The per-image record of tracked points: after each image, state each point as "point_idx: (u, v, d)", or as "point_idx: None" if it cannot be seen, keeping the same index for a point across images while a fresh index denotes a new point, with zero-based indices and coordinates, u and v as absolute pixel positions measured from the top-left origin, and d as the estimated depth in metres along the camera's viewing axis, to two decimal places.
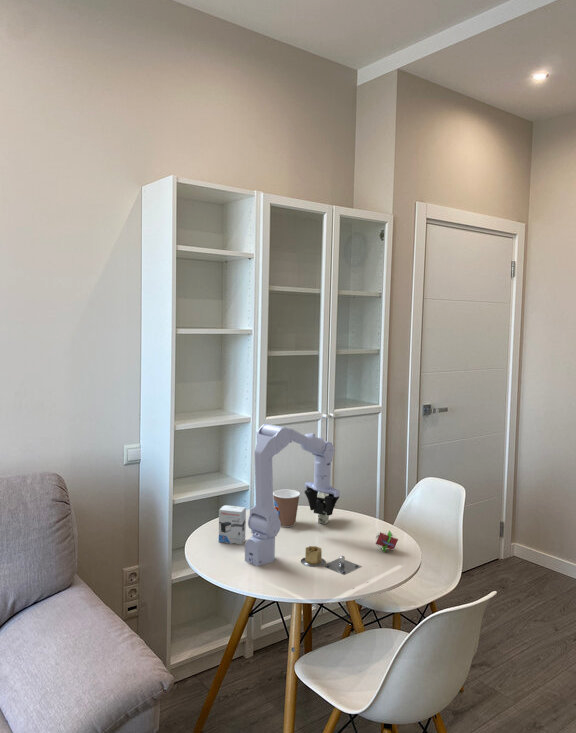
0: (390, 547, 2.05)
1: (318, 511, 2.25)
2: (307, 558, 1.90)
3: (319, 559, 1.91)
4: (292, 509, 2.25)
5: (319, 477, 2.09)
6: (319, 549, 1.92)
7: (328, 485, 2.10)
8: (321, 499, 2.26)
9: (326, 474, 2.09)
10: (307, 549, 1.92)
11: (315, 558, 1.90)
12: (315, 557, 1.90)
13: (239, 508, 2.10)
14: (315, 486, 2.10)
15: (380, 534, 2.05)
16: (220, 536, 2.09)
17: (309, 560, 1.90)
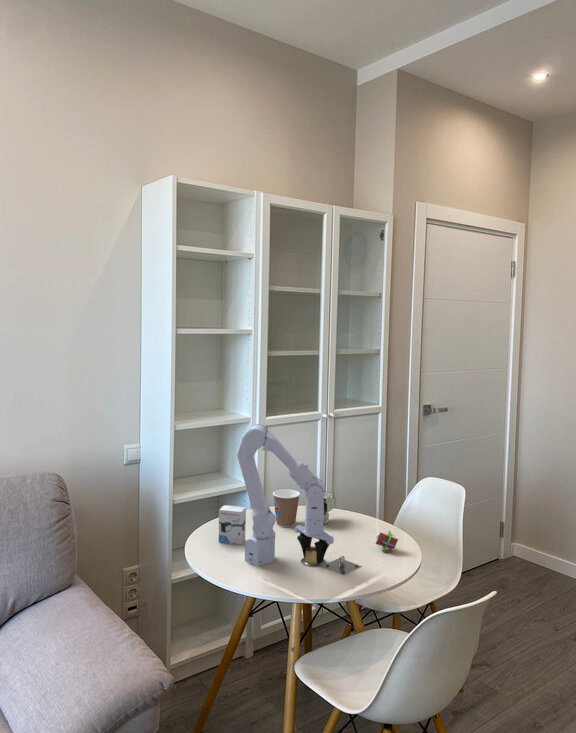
0: (390, 547, 2.05)
1: None
2: (307, 558, 1.90)
3: None
4: (292, 509, 2.25)
5: (311, 522, 1.88)
6: None
7: (321, 530, 1.90)
8: None
9: (311, 518, 1.88)
10: (307, 549, 1.92)
11: (315, 558, 1.90)
12: (315, 557, 1.90)
13: (239, 508, 2.10)
14: (306, 531, 1.90)
15: (380, 534, 2.05)
16: (220, 536, 2.09)
17: (309, 560, 1.90)
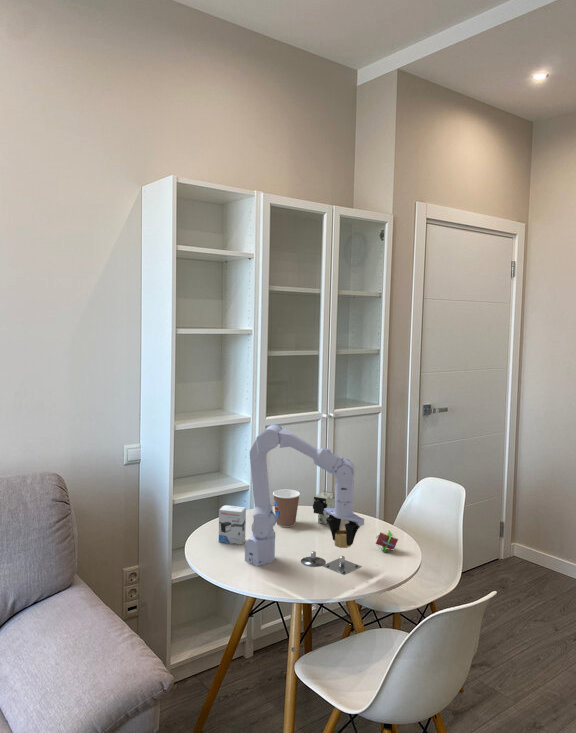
0: (390, 547, 2.05)
1: (318, 511, 2.25)
2: (337, 541, 1.87)
3: None
4: (292, 509, 2.25)
5: (341, 503, 1.85)
6: None
7: (351, 512, 1.86)
8: (321, 499, 2.26)
9: (340, 499, 1.85)
10: (337, 532, 1.88)
11: (345, 541, 1.86)
12: (345, 540, 1.86)
13: (239, 508, 2.10)
14: (336, 513, 1.86)
15: (380, 534, 2.05)
16: (220, 536, 2.09)
17: (339, 543, 1.86)
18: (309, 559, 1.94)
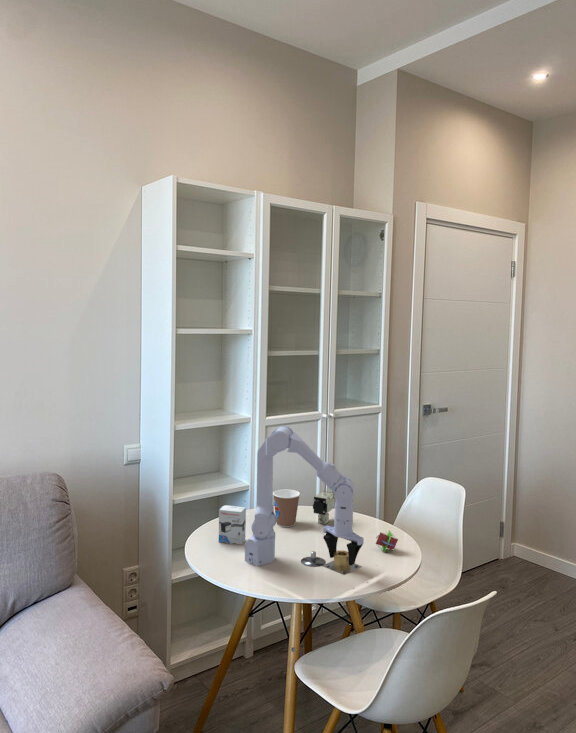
0: (390, 547, 2.05)
1: (318, 511, 2.25)
2: (336, 562, 1.88)
3: (348, 564, 1.88)
4: (292, 509, 2.25)
5: (340, 522, 1.85)
6: None
7: (350, 531, 1.86)
8: (321, 499, 2.26)
9: (340, 518, 1.85)
10: (336, 553, 1.89)
11: (344, 562, 1.87)
12: (344, 562, 1.87)
13: (239, 508, 2.10)
14: (336, 532, 1.87)
15: (380, 534, 2.05)
16: (220, 536, 2.09)
17: (338, 565, 1.87)
18: (309, 559, 1.94)
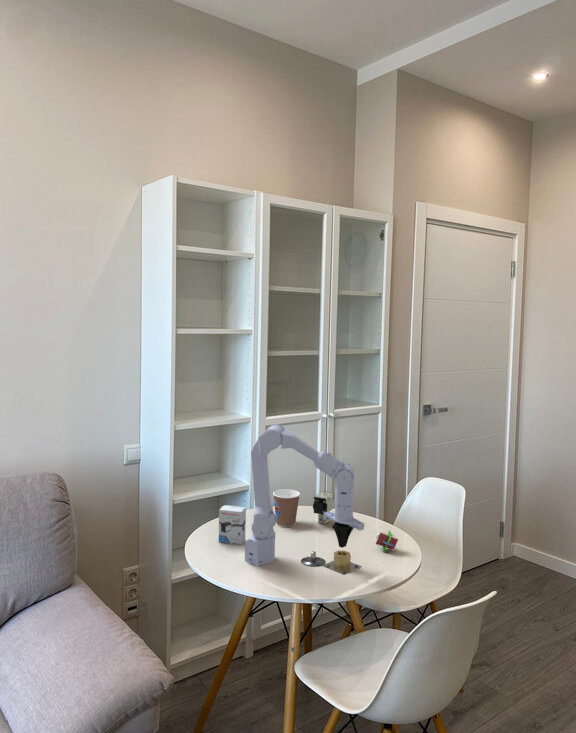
0: (390, 547, 2.05)
1: (318, 511, 2.25)
2: (336, 562, 1.88)
3: (348, 564, 1.88)
4: (292, 509, 2.25)
5: (341, 507, 1.85)
6: (348, 553, 1.89)
7: (351, 516, 1.86)
8: (321, 499, 2.26)
9: (340, 504, 1.85)
10: (336, 553, 1.89)
11: (344, 562, 1.87)
12: (344, 562, 1.87)
13: (239, 508, 2.10)
14: (336, 517, 1.86)
15: (380, 534, 2.05)
16: (220, 536, 2.09)
17: (338, 565, 1.87)
18: (309, 559, 1.94)
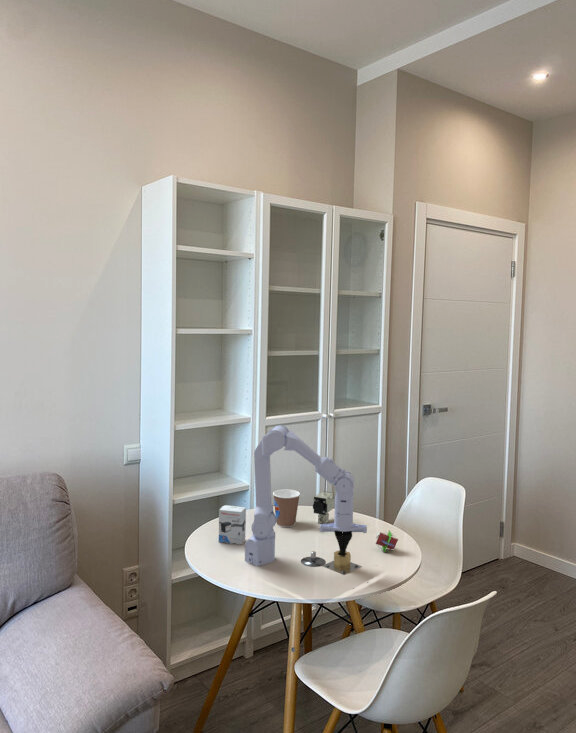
0: (390, 547, 2.05)
1: (318, 511, 2.25)
2: (336, 562, 1.88)
3: (348, 564, 1.88)
4: (292, 509, 2.25)
5: (347, 516, 1.85)
6: (348, 553, 1.89)
7: None
8: (321, 499, 2.26)
9: (340, 512, 1.85)
10: (336, 553, 1.89)
11: (344, 562, 1.87)
12: (344, 562, 1.87)
13: (239, 508, 2.10)
14: (342, 527, 1.85)
15: (380, 534, 2.05)
16: (220, 536, 2.09)
17: (338, 565, 1.87)
18: (309, 559, 1.94)
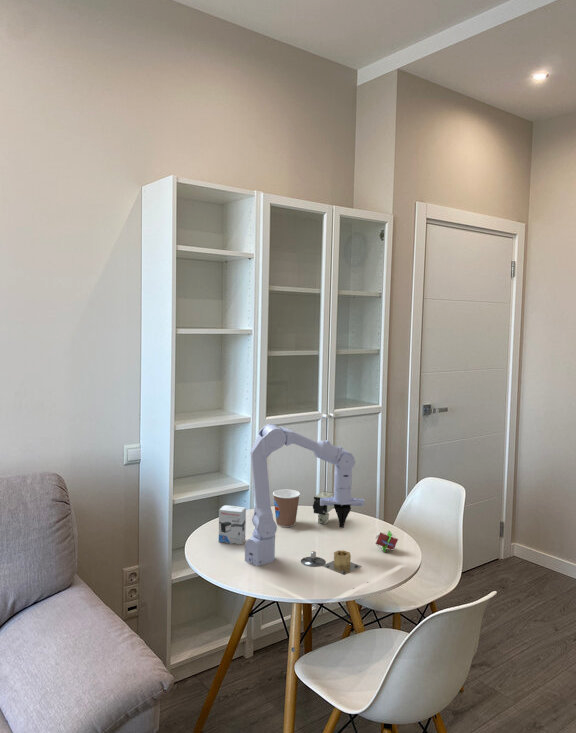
0: (390, 547, 2.05)
1: (318, 511, 2.25)
2: (336, 562, 1.88)
3: (348, 564, 1.88)
4: (292, 509, 2.25)
5: (346, 489, 1.95)
6: (348, 553, 1.89)
7: None
8: None
9: (342, 486, 1.95)
10: (336, 553, 1.89)
11: (344, 562, 1.87)
12: (344, 562, 1.87)
13: (239, 508, 2.10)
14: (341, 500, 1.96)
15: (380, 534, 2.05)
16: (220, 536, 2.09)
17: (338, 565, 1.87)
18: (309, 559, 1.94)
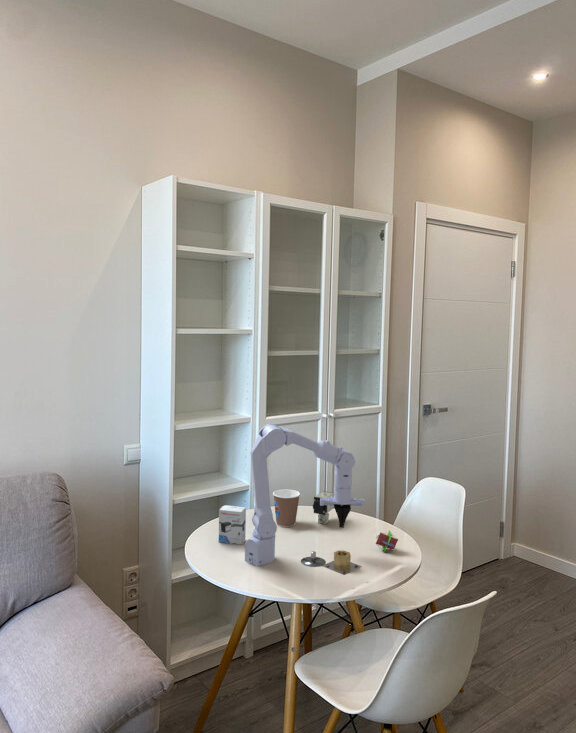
0: (390, 547, 2.05)
1: (318, 511, 2.25)
2: (336, 562, 1.88)
3: (348, 564, 1.88)
4: (292, 509, 2.25)
5: (346, 489, 1.95)
6: (348, 553, 1.89)
7: None
8: None
9: (342, 486, 1.95)
10: (336, 553, 1.89)
11: (344, 562, 1.87)
12: (344, 562, 1.87)
13: (239, 508, 2.10)
14: (341, 500, 1.96)
15: (380, 534, 2.05)
16: (220, 536, 2.09)
17: (338, 565, 1.87)
18: (309, 559, 1.94)
